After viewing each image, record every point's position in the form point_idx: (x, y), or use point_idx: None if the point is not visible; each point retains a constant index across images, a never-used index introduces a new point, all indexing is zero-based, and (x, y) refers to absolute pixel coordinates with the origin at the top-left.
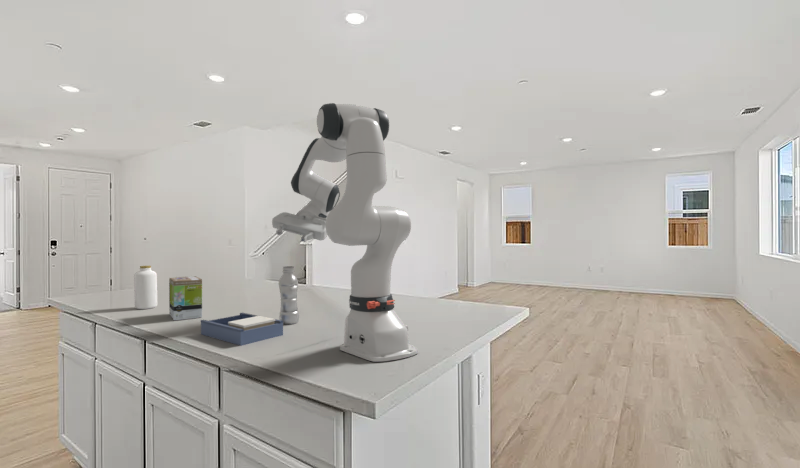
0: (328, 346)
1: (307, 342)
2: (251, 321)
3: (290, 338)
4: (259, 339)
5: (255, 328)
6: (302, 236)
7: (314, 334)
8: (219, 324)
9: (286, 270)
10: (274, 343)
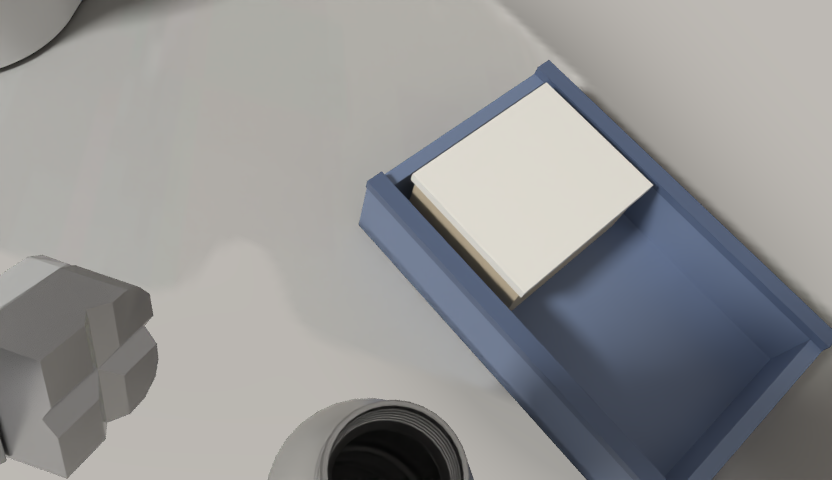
0: (153, 30)
1: (240, 112)
2: (532, 155)
3: (321, 202)
4: None
5: (493, 110)
6: (101, 299)
7: (189, 242)
8: (688, 198)
9: (410, 414)
10: (392, 142)
